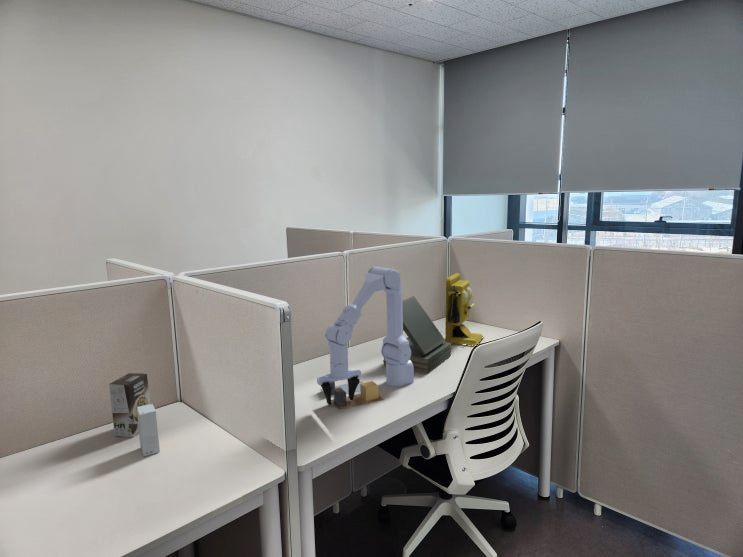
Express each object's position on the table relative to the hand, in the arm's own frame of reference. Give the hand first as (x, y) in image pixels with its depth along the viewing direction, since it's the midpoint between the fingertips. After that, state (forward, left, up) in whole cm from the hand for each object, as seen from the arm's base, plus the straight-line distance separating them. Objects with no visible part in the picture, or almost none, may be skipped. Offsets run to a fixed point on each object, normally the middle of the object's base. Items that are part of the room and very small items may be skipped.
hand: (340, 401), depth 158 cm
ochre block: (-10, 0, -1) cm, 11 cm away
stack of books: (-44, -25, -2) cm, 51 cm away
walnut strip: (-6, 0, -2) cm, 6 cm away
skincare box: (+56, +1, -2) cm, 57 cm away
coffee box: (+60, -14, -2) cm, 62 cm away
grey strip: (-6, -10, -2) cm, 12 cm away
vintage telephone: (-77, -37, -2) cm, 85 cm away
